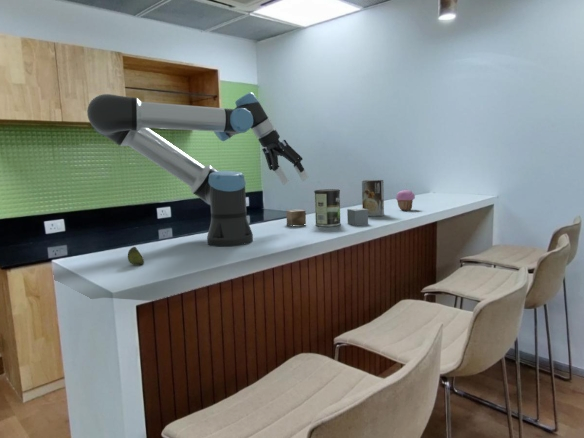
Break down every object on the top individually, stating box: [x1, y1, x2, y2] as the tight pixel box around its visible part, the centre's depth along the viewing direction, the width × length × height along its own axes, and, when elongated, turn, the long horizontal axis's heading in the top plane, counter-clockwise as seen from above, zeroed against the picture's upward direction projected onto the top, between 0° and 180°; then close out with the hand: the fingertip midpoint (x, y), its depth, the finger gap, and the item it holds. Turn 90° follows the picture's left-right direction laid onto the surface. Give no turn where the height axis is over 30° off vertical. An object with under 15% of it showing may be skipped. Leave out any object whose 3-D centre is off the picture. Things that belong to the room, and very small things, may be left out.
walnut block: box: [285, 208, 307, 227], centre depth 172 cm, size 6×6×6 cm
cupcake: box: [395, 189, 416, 211], centre depth 207 cm, size 9×9×10 cm
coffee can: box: [313, 188, 341, 227], centre depth 169 cm, size 10×10×14 cm
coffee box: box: [361, 179, 385, 217], centre depth 192 cm, size 9×6×16 cm
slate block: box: [346, 207, 369, 226], centre depth 169 cm, size 6×6×6 cm
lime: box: [127, 246, 145, 266], centre depth 112 cm, size 4×5×5 cm
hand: (295, 181), depth 161 cm, fingers open, 13 cm apart
